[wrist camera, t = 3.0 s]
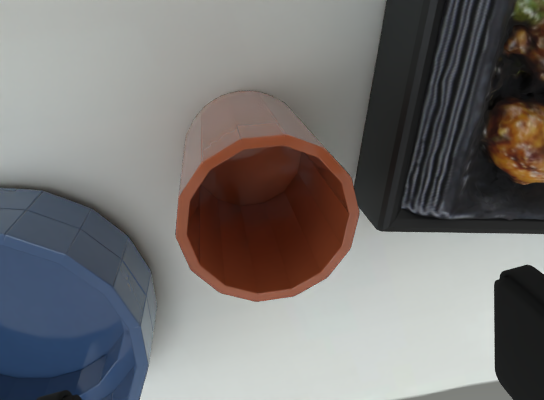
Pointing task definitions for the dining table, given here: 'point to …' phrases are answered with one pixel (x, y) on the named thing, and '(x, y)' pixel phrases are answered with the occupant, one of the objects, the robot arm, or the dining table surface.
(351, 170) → the dining table surface
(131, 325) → the bowl
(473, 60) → the food platter
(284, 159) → the cup
